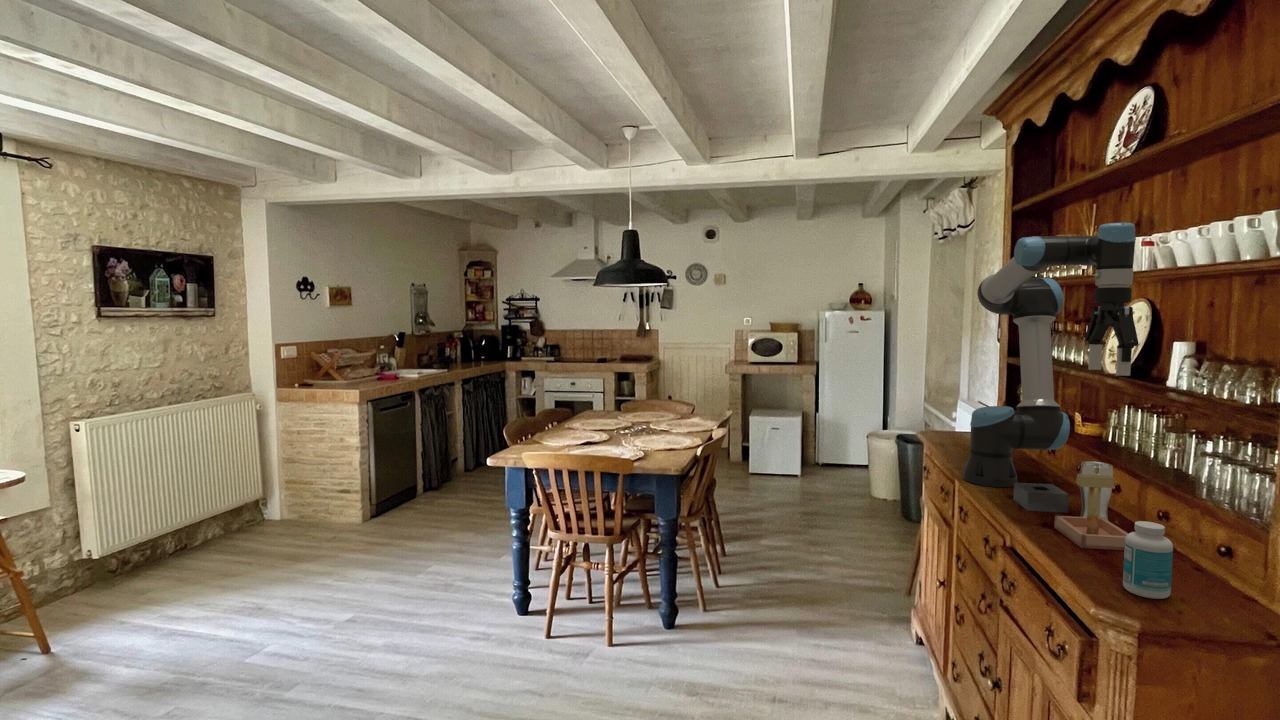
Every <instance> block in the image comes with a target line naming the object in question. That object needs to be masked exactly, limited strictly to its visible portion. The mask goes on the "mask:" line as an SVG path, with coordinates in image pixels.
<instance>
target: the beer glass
mask: <svg viewBox="0 0 1280 720" xmlns="http://www.w3.org/2000/svg"><path fill="white" fill-rule="evenodd" d="M1113 468H1114V467H1113V465H1112V464H1109V463H1106V462H1102V461H1094V460H1092V461H1091V460H1087V461H1086V460H1085V461H1082V462H1081V464H1080V473H1079V474H1086V475H1110V476H1112V477H1114V473H1113V472H1114V471H1113ZM1079 489H1080V497H1081V512H1080V515H1079V517H1087V511H1088V493H1089V487H1081V486H1079ZM1112 491H1113V488H1101V499H1100V517H1099V518H1104V519H1106V520H1108V521H1109V518H1108V505H1109V501H1110V499H1111V495H1112Z"/></svg>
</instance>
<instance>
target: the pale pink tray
mask: <svg viewBox="0 0 1280 720" xmlns="http://www.w3.org/2000/svg"><path fill="white" fill-rule="evenodd" d="M1054 529H1056V530H1057V531H1058V532H1060V533H1061V534H1063V536H1065V537H1066V538H1068V539H1069V540H1070V541H1071V542H1073V543H1074V544H1075V545H1076V546H1078V547H1079V548H1081V549H1093V550H1095V549H1096V550H1110V551H1125V537H1126V536H1127V535H1128V534H1129V533H1128V532H1127V531H1125V530H1123V529H1122V528H1120V527H1119V526H1117V525H1115V524H1114V523H1112V522H1110V521H1109V519H1108V520H1106V519H1104V518H1099V534H1098V535H1094V534H1086V529H1087V517H1080V516H1071V515H1070V516H1068V515H1067V516H1065V515H1055V516H1054Z"/></svg>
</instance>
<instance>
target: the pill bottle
mask: <svg viewBox="0 0 1280 720" xmlns="http://www.w3.org/2000/svg"><path fill="white" fill-rule="evenodd" d="M1134 530H1135V531H1131V532H1129V533H1128V535H1127V536H1126V537H1125V550H1123V551H1124V552H1123V553H1124V554H1123V555H1124V556H1123V557H1124V558H1123V572H1122V573H1123V574H1122V587H1123V588H1124V589H1125V590H1126V591H1128V592H1129V593H1131V594H1133V595H1136V596H1139V597H1143V598H1146V599H1152V600H1153V599H1155V600H1162V599H1168V598H1169V597H1170V595H1171V592H1172V591H1171V590H1172V575H1173V560H1174V559H1173V557H1174V556H1173V555H1174V554H1173V553H1174V545H1173V542H1172V541H1171V540H1170V539H1169V538H1168V537H1165V536H1164V535H1165V533H1166V526H1164V525H1163V524H1160V523H1156V522H1152V521H1144V520H1138V521H1135V522H1134Z"/></svg>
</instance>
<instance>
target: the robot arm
mask: <svg viewBox="0 0 1280 720" xmlns="http://www.w3.org/2000/svg"><path fill="white" fill-rule="evenodd" d="M1136 240H1137V237H1136V226H1135V224H1133V223H1132V222H1111V223H1104V224H1101V225H1099V226H1098V230H1097V233H1096V234H1094V235H1070V236H1069V235H1068V236H1067V235H1062V236H1061V235H1060V236H1059V235H1058V236H1056V235H1055V236H1038V235H1036V236H1028V237H1027V236H1026V237H1021V238H1019V239H1018V240H1017V242H1016V244H1015V246H1014V250H1013V257H1012V258H1011V259H1009V261H1008V262H1006V264H1005V265H1003V266H1002V267H1001V268H1000V269H999V270H998V271H997V272H996V273H993V274H990V275H989V276H987V277H985V278H983V280H982V281H981V282H980V284H979V286H978V288H977V292H976V293H977V299H978V302H979V303H980V305H981V306H982V307H983V308H984V309H985V310H987V311H989V312H990V313H993V314H995V315H1004V316H1005V315H1006V316H1007V315H1009V316H1010V315H1011V316H1012V322H1013V323H1015V325H1017V326H1018V334H1019V335H1018V336H1019V341H1018V342H1019V359H1020V383H1021V385H1020V386H1021V402H1020V403H1018V404H1017V405H1016V411H1015V410H1014V408H1013V407H1011V406H1008V405H1002V406H1001V405H991V406H985V407H979V408H976V409H975V410H973V411H972V413H971V420H970V441H969V443H970V444H969V456H968V458H967V461H966V464H965V465H964V469H963V471H962V479H963V480H964V481H966V482H968V483H971V484H975V485H979V486H984V487H995V488H1009V487H1014V483H1018V474H1017V472H1016V468H1015V466H1014V462H1013V458H1012V457H1013V456H1012V455H1013V453H1012V452H1013V450H1034V451H1035V450H1037V451H1049V450H1051V451H1052V450H1059V449H1062V447H1064V445H1066V442H1067V441H1068V439H1069V436H1070V431H1071V422H1070V419H1069V416H1068V414H1067V413H1065V412H1063V411H1061V405H1060V404H1059V403H1057V402H1056V401H1055V392H1054V391H1055V390H1054V374H1053V372H1054V370H1053V352H1052V351H1053V349H1052V334H1051V333H1052V332H1051V325H1052V323H1053V322H1054V321H1055V320H1056V319H1057V318H1056V316H1057V315H1059V314H1060V313H1061V312H1062V309H1063V304H1064V294H1063V289H1062V287H1061V285H1060V284H1059V282H1057V280H1055V279H1053V278H1049V277H1048V278H1047V277H1035V276H1036V275H1037V274H1038V273H1039V272H1041V271H1042V270H1043V269H1045V268H1046V267H1049V266H1083V267H1084V266H1087V267H1088V266H1089V267H1092V266H1095V273H1094V274H1093V277H1094V278H1095V279H1094V280H1095V283H1094V285H1095V286H1097V288H1095V289H1094V295H1093V296H1094V297H1093V302H1094V303H1095V304H1096V303H1097V304H1100V306H1099V305H1095V306H1092V313H1091V317H1090V321H1089V324H1088V328H1087V331H1086V334H1085V336H1084V337H1085V338H1084V341H1085V342H1088V345H1089V347H1088V348H1089V350H1088V351H1089V352H1088V367H1087V369H1088V370H1089V371H1091V370H1094V371H1095V370H1097V371H1101V370H1102V361H1103V359H1102V358H1103V346H1104V342H1103V339H1104V338H1105V335H1106V334H1107V331H1108V330H1109V327H1112V329H1113V332H1114V334H1115V337H1116V340H1117V342H1118V345H1117V346H1116V351H1117V352H1116V366H1115V367H1116V368H1115V369H1116V370H1115V376H1125V377H1128V376H1129V377H1130V376H1131V368H1132V355H1133V354H1132V351H1133V349H1134V347H1138V346H1139V344H1140V343H1139V339H1138V334H1137V330H1136V324H1135V321H1134V316H1133V315H1134V313H1133V311H1134V309H1133V306H1125V304H1126V303H1127V304H1129V303H1131V302H1132V295H1133V288H1131V287H1130V286H1132V285H1133V281H1134V262H1135V251H1136V250H1135V249H1136Z"/></svg>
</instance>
